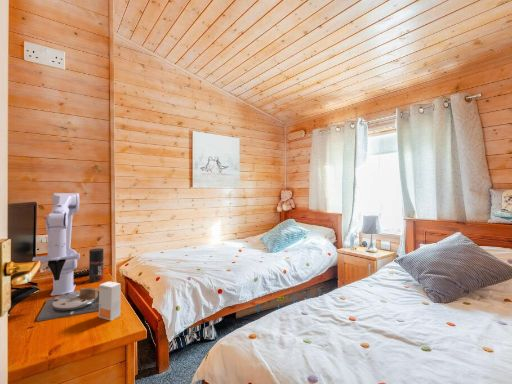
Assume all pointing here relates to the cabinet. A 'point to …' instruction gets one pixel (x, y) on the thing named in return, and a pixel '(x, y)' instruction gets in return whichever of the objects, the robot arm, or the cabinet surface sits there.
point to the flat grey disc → (75, 299)
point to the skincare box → (109, 300)
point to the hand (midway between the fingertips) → (57, 279)
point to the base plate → (52, 313)
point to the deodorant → (96, 265)
